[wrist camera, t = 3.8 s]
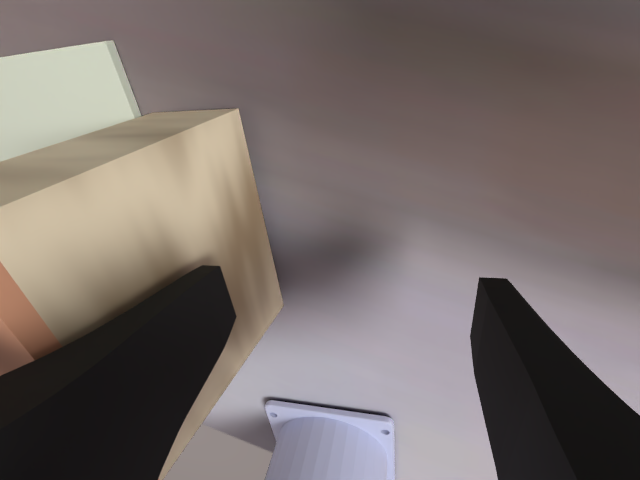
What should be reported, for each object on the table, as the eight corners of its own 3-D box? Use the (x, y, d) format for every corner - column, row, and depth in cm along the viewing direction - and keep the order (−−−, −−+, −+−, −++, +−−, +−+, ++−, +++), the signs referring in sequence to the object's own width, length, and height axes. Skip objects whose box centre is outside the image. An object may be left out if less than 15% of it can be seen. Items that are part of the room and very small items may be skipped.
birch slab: (283, 305, 17) (148, 500, 10) (216, 291, 18) (61, 453, 12) (238, 108, 12) (-68, 234, 5) (152, 112, 13) (-165, 214, 7)
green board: (220, 326, 19) (216, 331, 19) (78, 313, 22) (73, 318, 22) (113, 40, 12) (105, 41, 12) (-80, 70, 15) (-91, 71, 14)
